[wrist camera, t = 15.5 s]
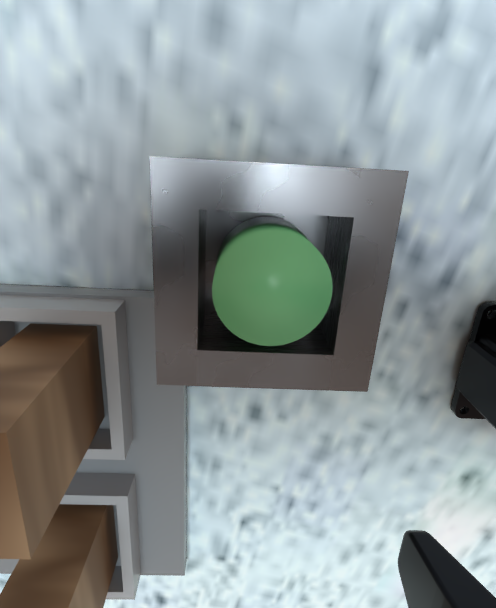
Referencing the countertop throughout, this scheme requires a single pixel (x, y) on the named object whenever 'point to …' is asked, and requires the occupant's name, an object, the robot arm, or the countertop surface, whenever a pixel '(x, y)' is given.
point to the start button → (270, 282)
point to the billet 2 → (67, 562)
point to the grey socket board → (121, 426)
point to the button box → (319, 231)
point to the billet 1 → (44, 425)
